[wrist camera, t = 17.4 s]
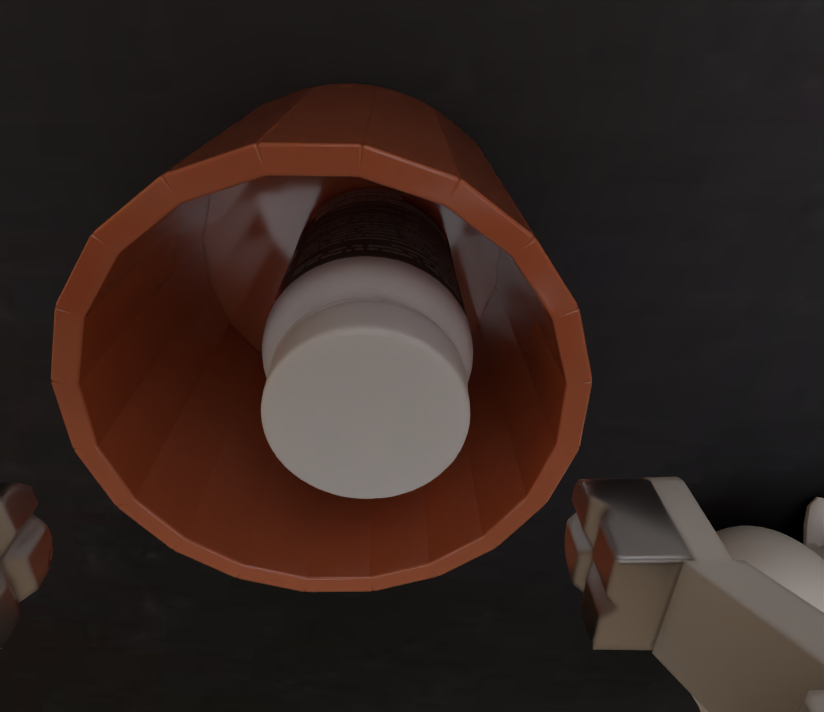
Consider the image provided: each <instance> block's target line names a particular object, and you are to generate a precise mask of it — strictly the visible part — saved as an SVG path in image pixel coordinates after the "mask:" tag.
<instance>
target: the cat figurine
mask: <svg viewBox="0 0 824 712" xmlns="http://www.w3.org/2000/svg"><path fill="white" fill-rule="evenodd" d="M716 533H717V535H718V536H719V538H720V539H721V541H722V543H723V544H724V546H725V547H726V549H727V550H728V552H729V554H730V555H731V557H732V558H733V560H744V561H746V562H747V563H749V564H750V565H752V566H753V567H755V568H756V569H758V570H760V571H761V572H763V573H764V574H766V575H767V576H769V577H770V578H772V579H773V580H775V581H776V582H778V583H779V584H781V585H782V586H784V587H785V588H787V589H788V590H790V591H791V592H793V593H794V594H796V595H797V596H799V597H800V598H802V599H803V600H805V601H806V602H808V603H810V604H811V605H813V606H814V607H816V608H817V609H819V610H820V611H822V612H823V613H824V498H821V497H815V498H814V499H813V500H812V501H811V502H810V503H809V504H808V506H807V508H806V514H805V519H804V526H803V544H802V543H800V542H799V541H797V540H795V539H793V538H791V537H789V536H787V535H785V534H783V533H780V532H777V531H775V530H772V529H768V528H764V527H757V526H735V527H729V528H725V529H722V530H719V531H716ZM691 695H692V694H691ZM692 696H693V695H692ZM693 698H694V699H695V697H694V696H693ZM695 701H696V703H697V704H698V706H699V709H700V711H701V712H708V711H707V710H706V709H705V708H704V707H703V706H702V705H701V704H700V703H699V702H698V701H697V700H696V699H695Z"/></svg>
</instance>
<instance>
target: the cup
mask: <svg viewBox="0 0 824 712" xmlns="http://www.w3.org/2000/svg"><path fill="white" fill-rule="evenodd" d="M362 188H383V189H389V190H394V191H398V192H401V193H403V194H406V195H408V196H410V197H412V198H414V199H415V200H417V201H418V202H420V203H421V204H422V205H424V206H425V207H426V208H427V209H428V210H429V211H430V212H431V213H432V214H433V215H434V216H435V217H436V219H437V220H438V221H439V223H440V224H441V226H442V228H443V229H444V231H445V234H446V236H447V238H448V241H449V245H450V249H451V254H452V259H453V263H454V267H455V271H456V275H457V279H458V284H459V287H460V292H461V296H462V299H463V303H464V307H465V312H466V315H467V319H468V323H469V327H470V331H471V336H472V343H473V363H472V370H471V374H470V378H469V381H468V395H469V400H470V424H469V429H468V434H467V436H466V439H465V442H464V444H463V446H462V448H461V450H460V452H459V453H458V455H457V457H456V458H455V460H454V461H453V462H452V463H451V464H450V465H449V466H448V467H447V468H446V469H445V470H444V471H443V472H442V473H441V474H440V475H439V476H437V477H436V478H435V479H433V480H432V481H430V482H429V483H427V484H425V485H423V486H421V487H419V488H417V489H415V490H413V491H410V492H407V493H403V494H400V495H396V496H393V497H387V498H374V499H359V498H350V497H343V496H338V495H335V494H331V493H329V492H325V491H323V490H320V489H318V488H316V487H314V486H312V485H309V484H308V483H307V482H305V481H303V480H301V479H300V478H298V477H297V476H296V475H294V474H293V473H292V472H291V471H289V470H288V469H287V468H286V467H285V466H284V465H283V464H282V463H281V461H280V460H279V459H278V458H277V457H276V455H275V453H274V452H273V451H272V449H271V447H270V445H269V443H268V441H267V439H266V436H265V433H264V430H263V426H262V419H261V401H262V395H263V390H264V386H265V383H266V379H267V378H266V375H265V371H264V367H263V359H262V341H263V334H264V329H265V324H266V320H267V317H268V314H269V312H270V309H271V307H272V305H273V302H274V299H275V297H276V295H277V293H278V290H279V287H280V285H281V282H282V280H283V278H284V275H285V272H286V270H287V268H288V266H289V263H290V261H291V258H292V256H293V253H294V251H295V248H296V245H297V243H298V240H299V238H300V235H301V233H302V231H303V229H304V227H305V225H306V224H307V222H308V221H309V219H310V218H311V216H312V215H313V214H314V213H315V212H316V211H317V210H318V209H319V208H320V207H321V206H322V205H323V204H325V203H326V202H327V201H329V200H330V199H332V198H334V197H336V196H338V195H340V194H342V193H345V192H348V191H351V190H355V189H362ZM51 380H52V387H53V390H54V393H55V396H56V399H57V402H58V405H59V408H60V411H61V414H62V417H63V420H64V423H65V426H66V429H67V432H68V435H69V438H70V441H71V444H72V447H73V448H74V449H75V453H76V454H77V455H78V457H79V458H80V459H81V461H82V462H83V463H84V465H85V466H86V467H87V469H88V470H89V471H90V473H91V474H92V475H93V477H94V478H95V479H96V481H97V482H98V483H99V485H100V486H101V487H102V489H103V490H104V491H105V493H106V494H107V495H108V497H109V498H110V499H111V500H112V502H113V503H114V504H115V505H116V506H118V508H119V509H120V510H121V511H122V512H124V513H125V514H126V515H128V516H129V517H130V518H132V519H133V520H134V521H136V522H137V523H138V524H139V525H141V526H142V527H143V528H145V529H146V530H147V531H149V532H150V533H151V534H153V535H154V536H155V537H156V538H158V539H159V540H160V541H162V542H163V543H164V544H166V545H167V546H168V547H169V548H171V549H174V551H176V552H178V553H180V554H183V555H185V556H187V557H190V558H192V559H194V560H196V561H199V562H201V563H203V564H205V565H208V566H210V567H212V568H214V569H217V570H219V571H221V572H223V573H226V574H228V575H230V576H232V577H235V578H237V577H238V578H239V579H242V580H247V581H252V582H257V583H262V584H267V585H272V586H277V587H282V588H287V589H292V590H297V591H302V592H303V591H306V592H363V591H372V590H374V591H377V590H381V589H386V588H390V587H394V586H399V585H403V584H407V583H412V582H416V581H420V580H425V579H429V578H433V577H436V576H437V575H438V576H440V575H442V574H444V573H446V572H448V571H450V570H452V569H454V568H457V567H459V566H461V565H463V564H465V563H467V562H469V561H471V560H473V559H475V558H477V557H479V556H481V555H483V554H485V553H487V552H489V551H491V550H493V549H495V548H496V546H499V545H500V544H501V543H502V542H503V541H505V540H506V539H507V538H508V537H509V536H510V535H511V534H513V533H514V532H515V531H516V530H517V529H518V528H519V527H520V526H522V525H523V524H524V523H525V522H526V521H527V520H528V519H529V518H531V517H532V516H533V515H534V514H535V513H536V512H537V511H539V510H540V509H541V508H542V507H543V506H544V504H545V503H547V502H548V500H549V498H550V497H551V495H552V493H553V492H554V490H555V488H556V487H557V485H558V483H559V482H560V480H561V478H562V477H563V475H564V473H565V472H566V470H567V468H568V467H569V465H570V463H571V462H572V460H573V458H574V457H575V455H576V453H577V452H578V450H579V446H580V442H581V437H582V432H583V427H584V422H585V417H586V412H587V406H588V401H589V396H590V391H591V386H592V381H591V380H592V373H591V368H590V363H589V357H588V352H587V346H586V341H585V335H584V330H583V325H582V319H581V314H580V310H579V308H578V304H577V303H576V301H575V299H574V298H573V296H572V294H571V293H570V291H569V290H568V288H567V286H566V285H565V283H564V282H563V280H562V278H561V277H560V275H559V274H558V272H557V270H556V269H555V267H554V265H553V264H552V262H551V261H550V259H549V257H548V256H547V254H546V253H545V251H544V249H543V248H542V246H541V244H540V243H539V241H538V240H537V238H536V236H535V235H534V233H533V232H532V230H531V229H530V227H529V225H528V224H527V222H526V221H525V219H524V218H523V216H522V214H521V213H520V211H519V210H518V208H517V207H516V205H515V203H514V202H513V200H512V199H511V197H510V195H509V194H508V192H507V191H506V189H505V188H504V186H503V184H502V183H501V181H500V180H499V178H498V177H497V175H496V173H495V172H494V170H493V169H492V167H491V166H490V164H489V162H488V161H487V159H486V158H485V156H484V154H483V153H482V151H481V150H480V148H479V147H478V145H477V144H476V143H475V142H474V141H473V140H472V139H471V138H469V137H468V136H467V135H466V134H465V133H464V132H463V131H462V130H461V129H460V128H459V127H458V126H457V125H456V124H455V123H454V122H452V121H451V120H450V119H448V118H447V117H446V116H444V115H443V114H442V113H440V112H439V111H438V110H436V109H434V108H432V107H431V106H429V105H427V104H425V103H423V102H422V101H420V100H418V99H416V98H413V97H411V96H408V95H405V94H403V93H400V92H398V91H395V90H390V89H386V88H382V87H378V86H373V85H363V84H352V83H344V84H327V85H321V86H316V87H311V88H306V89H302V90H299V91H296V92H294V93H291V94H288V95H285V96H283V97H280V98H278V99H276V100H275V101H272V102H269V103H266V104H264V105H262V106H260V107H259V108H257V109H256V110H254V111H253V112H251V113H250V114H248V115H247V116H246V117H244V118H243V119H241V120H240V121H238V122H237V123H235V124H234V125H233V126H231V127H230V128H228V129H227V130H225V131H224V132H222V133H221V134H220V135H218V136H217V137H215V138H214V139H212V140H211V141H209V142H208V143H207V144H205V145H204V146H202V147H201V148H199V149H198V150H196V151H195V152H194V153H192V154H191V155H189V156H188V157H186V158H185V159H183V160H182V161H181V162H179V163H178V164H176V165H175V166H173V167H172V168H170V169H169V170H168V171H166V172H165V173H163V174H162V175H160V176H159V177H158V178H156V179H155V180H154V181H153V182H152V183H150V184H149V185H148V186H147V187H146V188H144V189H143V190H142V191H141V192H140V193H138V194H137V195H136V196H135V197H134V198H132V199H131V200H130V201H129V202H128V203H126V204H125V205H124V206H123V207H122V208H121V209H119V210H118V211H117V212H116V213H115V214H113V215H112V216H111V217H110V218H109V219H107V220H106V221H105V222H104V223H103V224H101V225H100V226H99V227H98V228H97V229H95V230H94V233H93V234H91V235H90V237H89V239H88V241H87V243H86V245H85V247H84V249H83V251H82V252H81V254H80V256H79V258H78V260H77V262H76V264H75V266H74V268H73V270H72V272H71V274H70V276H69V278H68V280H67V282H66V284H65V286H64V288H63V290H62V292H61V294H60V296H59V298H58V300H57V302H56V307H55V314H54V331H53V349H52V366H51Z"/></svg>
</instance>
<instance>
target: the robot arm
mask: <svg viewBox="0 0 824 712" xmlns="http://www.w3.org/2000/svg"><path fill="white" fill-rule="evenodd" d="M572 501H573V504H574V507H575V510H576V513H575V514H574V515H573V516H572V517H571V518H569V519H568V520H567V526H566V532H565V556H566V562H567V567H568V571H569V575H570V578H571V581H572V583H573V584H574V585H575V586H576V587H577V588H579V589H580V590H581V591H582V592H583V597H582V602H581V606H580V610H581V613H582V616H583V619H584V622H585V626H586V629H587V632H588V635H589V638H590V641H591V644H592V647H593V649H609V650H653V652H652V653H653V655H654V656H655V657H656V658H657V659H658V660H659V661H660V662H661V663H662V664H663V665H664V666H665V667H666V668H667V669H668V670H669V671H670V672H671V673H672V674H673V675H674V677H675V678H676V679H677V680H678V681H679V682H680V683H681V684H682V685H683V686H684V687H685V688H686V689H687V690H688V691H689V692H690V693H691V694H692V695H693V696H694V697H695V699H696V700H697V701H698V702H699V703H700V704H701V705H702V706H703V707H704V708H705V709H706V710H707V711H708V712H824V613H823V612H822V611H820V610H819V609H817V608H816V607H814V606H813V605H811V604H810V603H808V602H806V601H805V600H803V599H802V598H800V597H799V596H797V595H796V594H794V593H793V592H791V591H790V590H788V589H787V588H785V587H784V586H782V585H781V584H779V583H778V582H776V581H775V580H773V579H772V578H770V577H769V576H767V575H766V574H764V573H763V572H761V571H760V570H758V569H756V568H755V567H753V566H752V565H750V564H749V563H747V562H746V561H744V560H733V558H732V557H731V555H730V554H729V552H728V550H727V549H726V547H725V546H724V544H723V543H722V541H721V539H720V538H719V536H718V535H717V533H716V532H715V530H714V528H713V527H712V525H711V524H710V522H709V520H708V519H707V517H706V516H705V514H704V513H703V511H702V509H701V508H700V506H699V505H698V503H697V501H696V500H695V498H694V497H693V495H692V494H691V492H690V490H689V489H688V487H687V486H686V484H685V483H684V481H683V480H681V479H680V478H678V477H647V478H643V479H642V478H615V479H578V480H577V482H576V484H575V486H574V490H573V495H572ZM37 505H38V500H37V498H36V496H35V494H34V492H33V490H32V487H31V486H29V485H26V484H23V483H3V482H0V650H1V648H2V647H3V645H4V644H5V642H6V640H7V639H8V637H9V635H10V634H11V632H12V631H13V629H14V627H15V626H16V624H17V623H18V621H19V619H20V618H21V616H22V615H21V610H20V605H19V602H21V601H22V600H23V599H25V598H26V597H28V596H29V595H31V594H32V593H33V592H35V591H36V590H38V588H39V587H40V585H41V583H42V582H43V580H44V578H45V576H46V575H47V573H48V570H49V566H50V562H51V558H52V554H53V545H52V536H51V533H50V531H49V528H48V525H47V524H45V523H44V522H43V521H41V520H40V519H39V518H37V517H36V516H35V515H33V512H34V510H35V508H36V507H37Z"/></svg>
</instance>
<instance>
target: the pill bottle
mask: <svg viewBox="0 0 824 712" xmlns="http://www.w3.org/2000/svg"><path fill="white" fill-rule="evenodd" d="M262 359H263V367H264V371H265V375H266V378H267V379H266V383H265V386H264V390H263V395H262V401H261V419H262V426H263V430H264V433H265V436H266V439H267V441H268V443H269V445H270V447H271V449H272V451H273V452H274V453H275V455H276V457H277V458H278V459H279V460H280V461H281V463H282V464H283V465H284V466H285V467H286V468H287V469H288V470H289V471H291V472H292V473H293V474H294V475H296V476H297V477H298V478H300V479H301V480H303V481H305V482H307V483H308V484H309V485H312V486H314V487H316V488H318V489H320V490H323V491H325V492H329V493H331V494H335V495H338V496H343V497H350V498H359V499H374V498H387V497H393V496H396V495H400V494H403V493H407V492H410V491H413V490H415V489H417V488H419V487H421V486H423V485H425V484H427V483H429V482H430V481H432V480H433V479H435V478H436V477H437V476H439V475H440V474H441V473H442V472H443V471H444V470H445V469H446V468H447V467H448V466H449V465H450V464H451V463H452V462H453V461H454V460H455V458H456V457H457V455H458V453H459V452H460V450H461V448H462V446H463V444H464V442H465V439H466V436H467V434H468V429H469V424H470V400H469V395H468V381H469V378H470V374H471V370H472V363H473V343H472V336H471V331H470V327H469V323H468V319H467V315H466V312H465V307H464V303H463V299H462V296H461V292H460V287H459V284H458V279H457V275H456V271H455V267H454V263H453V259H452V254H451V249H450V245H449V241H448V238H447V236H446V234H445V231H444V229H443V228H442V226H441V224H440V223H439V221H438V220H437V219H436V217H435V216H434V215H433V214H432V213H431V212H430V211H429V210H428V209H427V208H426V207H425V206H424V205H422V204H421V203H420V202H418V201H417V200H415V199H414V198H412V197H410V196H408V195H406V194H403V193H401V192H398V191H394V190H389V189H383V188H362V189H355V190H351V191H348V192H345V193H342V194H340V195H338V196H336V197H334V198H332V199H330V200H329V201H327V202H326V203H325V204H323V205H322V206H321V207H320V208H319V209H318V210H317V211H316V212H315V213H314V214H313V215H312V216H311V218H310V219H309V221H308V222H307V224H306V225H305V227H304V229H303V231H302V233H301V235H300V238H299V240H298V243H297V245H296V248H295V251H294V253H293V256H292V258H291V261H290V263H289V266H288V268H287V270H286V272H285V275H284V278H283V280H282V282H281V285H280V287H279V290H278V293H277V295H276V297H275V299H274V302H273V305H272V307H271V309H270V312H269V314H268V317H267V320H266V324H265V329H264V334H263V341H262Z"/></svg>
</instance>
